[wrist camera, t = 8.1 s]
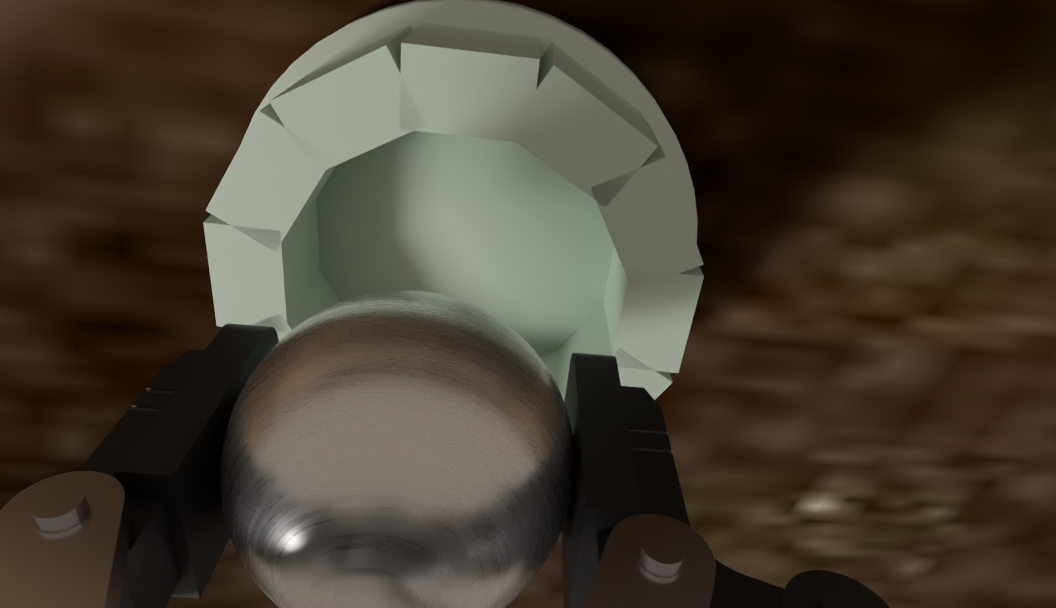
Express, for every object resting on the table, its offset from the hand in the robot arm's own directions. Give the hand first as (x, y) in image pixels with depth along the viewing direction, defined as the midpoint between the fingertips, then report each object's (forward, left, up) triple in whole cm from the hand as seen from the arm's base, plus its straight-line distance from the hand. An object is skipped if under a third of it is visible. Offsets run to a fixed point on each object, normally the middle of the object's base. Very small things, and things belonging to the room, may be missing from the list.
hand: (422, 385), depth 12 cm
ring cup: (0, 0, -6) cm, 6 cm away
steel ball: (0, 0, -1) cm, 1 cm away
